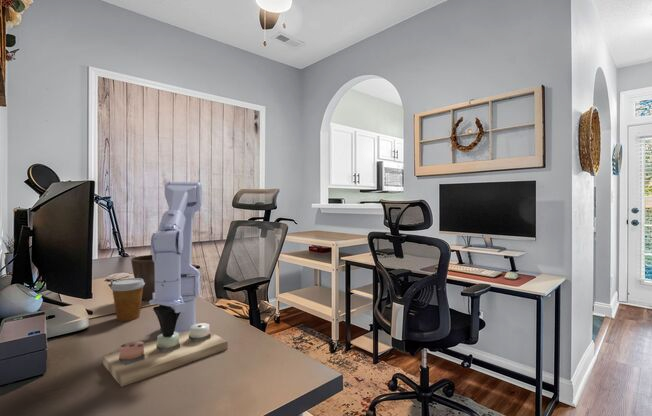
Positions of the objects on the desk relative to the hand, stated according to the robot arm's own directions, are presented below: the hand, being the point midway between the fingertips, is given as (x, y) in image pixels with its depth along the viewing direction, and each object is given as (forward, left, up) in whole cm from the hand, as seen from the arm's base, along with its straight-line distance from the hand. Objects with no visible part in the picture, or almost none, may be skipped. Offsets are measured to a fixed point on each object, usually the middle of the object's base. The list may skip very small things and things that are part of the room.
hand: (168, 335), depth 81 cm
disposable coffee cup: (-37, +2, -5) cm, 37 cm away
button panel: (0, 0, -5) cm, 5 cm away
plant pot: (-55, +16, -5) cm, 58 cm away
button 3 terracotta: (0, -8, -2) cm, 8 cm away
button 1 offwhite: (0, +8, -2) cm, 8 cm away
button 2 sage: (0, 0, -2) cm, 2 cm away
